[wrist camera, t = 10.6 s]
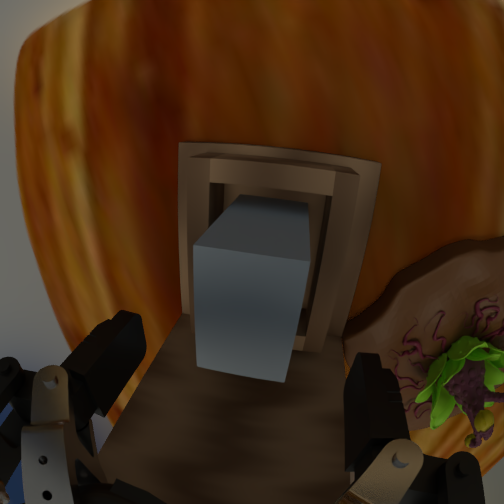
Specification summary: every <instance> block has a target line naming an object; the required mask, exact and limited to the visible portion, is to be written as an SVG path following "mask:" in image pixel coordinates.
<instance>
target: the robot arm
mask: <svg viewBox="0 0 504 504" xmlns="http://www.w3.org/2000/svg"><path fill="white" fill-rule="evenodd" d="M145 353H146V340H145V335H144V329H143V324H142V318H141V316H140V315H139V314H136V313H132V312H129V311H125V310H120V311H119V312H118V313H117V314H116V315H115V316H114V317H113V318H112V319H111V320H110V319H108V320H106V321H104V322H102V323H100V324H99V325H97V326H96V327H95V328H94V329H93V330H92V331H91V332H90V335H88V336H87V337H86V338H85V339H84V341H83V342H81V343H80V344H79V345H78V346H77V347H76V349H75V350H74V351H73V352H72V353H71V354H70V355H69V356H68V357H67V358H66V360H65V361H64V362H63V363H62V364H61V365H60V366H57V365H49V366H46V367H44V368H42V369H40V370H39V371H38V372H33V371H28V370H23V369H22V368H21V366H20V364H19V362H18V361H17V360H16V359H15V358H13V357H4V358H2V359H0V413H1V412H2V411H3V409H4V408H5V407H6V405H7V404H8V403H10V405H11V406H12V407H13V410H12V411H11V412H10V414H9V415H8V417H7V418H6V420H5V421H4V422H3V424H2V425H1V426H0V504H7V503H9V496H8V494H7V493H6V491H5V486H6V484H7V483H8V480H9V479H10V477H11V476H12V474H13V472H14V471H15V469H16V467H17V466H18V464H19V462H20V460H21V459H22V477H23V489H24V497H25V503H23V504H167V503H165V502H164V501H162V500H160V499H159V498H157V497H156V496H154V495H152V494H151V493H149V492H148V491H145V490H143V489H140V488H138V487H135V486H133V485H131V484H128V483H126V482H124V481H121V480H119V479H117V478H116V480H115V482H114V484H110V483H108V482H107V479H106V476H105V473H104V471H103V469H102V467H101V465H100V462H99V459H98V454H97V448H96V443H95V437H94V431H93V424H92V420H91V417H92V415H93V414H94V413H96V414H98V415H100V416H102V417H105V416H106V414H107V413H108V411H109V410H110V408H111V407H112V405H113V404H114V402H115V401H116V399H117V398H118V396H119V394H120V393H121V391H122V390H123V388H124V387H125V385H126V384H127V382H128V381H129V379H130V378H131V376H132V375H133V373H134V372H135V370H136V369H137V367H138V366H139V364H140V363H141V361H142V360H143V358H144V356H145ZM402 401H403V400H402V395H401V393H400V387H399V383H398V379H397V378H396V376H395V375H394V373H393V372H392V371H391V369H390V368H382V364H381V359H380V356H379V354H378V353H364V352H358V353H357V354H356V356H355V359H354V362H353V364H352V367H351V369H350V372H349V374H348V377H347V379H346V382H345V385H344V392H343V403H344V435H345V472H354V481H353V482H352V483H351V484H350V485H349V487H348V488H347V489H346V490H345V491H344V492H343V493H342V494H341V495H340V496H339V497H338V498H337V499H336V500H335V501H334V502H333V503H332V504H485V497H484V490H483V484H482V477H481V471H480V466H479V463H478V460H477V459H476V458H475V457H474V456H473V455H472V454H470V453H468V452H464V451H461V452H457V453H454V454H453V455H452V456H451V457H449V458H448V459H443V458H438V457H433V456H428V455H425V454H423V453H422V451H421V449H420V447H419V446H418V445H417V444H416V443H414V442H412V441H411V439H410V435H409V429H408V424H407V419H406V414H405V409H404V405H403V403H402Z"/></svg>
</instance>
